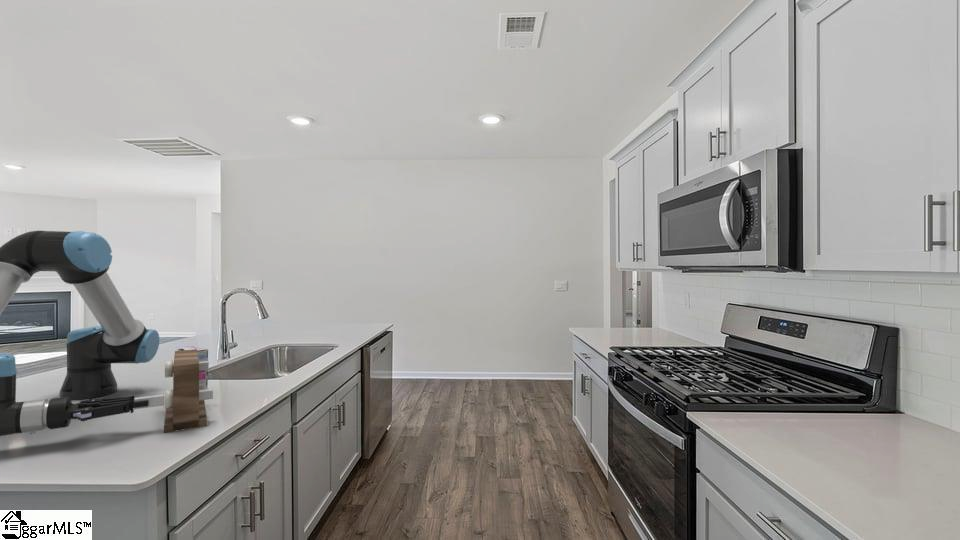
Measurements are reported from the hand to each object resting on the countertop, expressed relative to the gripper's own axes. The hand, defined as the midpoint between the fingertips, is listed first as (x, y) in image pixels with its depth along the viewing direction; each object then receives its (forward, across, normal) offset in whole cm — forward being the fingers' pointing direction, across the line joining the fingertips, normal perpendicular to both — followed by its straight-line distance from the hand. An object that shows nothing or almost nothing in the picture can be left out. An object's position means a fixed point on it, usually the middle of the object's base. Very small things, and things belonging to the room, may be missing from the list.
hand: (163, 400), depth 125 cm
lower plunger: (+6, 0, -2) cm, 6 cm away
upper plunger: (+5, -17, +3) cm, 18 cm away
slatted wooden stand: (+5, -8, -8) cm, 13 cm away
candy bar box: (+7, -32, -8) cm, 34 cm away
